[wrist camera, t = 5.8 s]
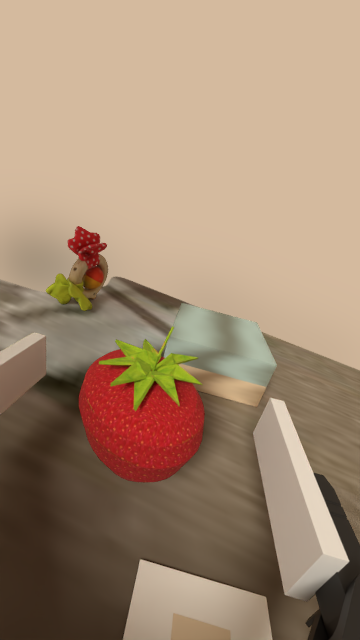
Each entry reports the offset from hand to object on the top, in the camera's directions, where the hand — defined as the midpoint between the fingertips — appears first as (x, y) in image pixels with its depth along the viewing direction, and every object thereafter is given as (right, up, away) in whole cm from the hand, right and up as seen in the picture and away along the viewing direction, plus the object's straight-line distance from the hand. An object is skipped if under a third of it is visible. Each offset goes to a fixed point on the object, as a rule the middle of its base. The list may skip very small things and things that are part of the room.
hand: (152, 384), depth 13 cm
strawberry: (-2, -6, +1) cm, 6 cm away
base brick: (+5, -2, +14) cm, 15 cm away
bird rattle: (-13, +6, +22) cm, 27 cm away
